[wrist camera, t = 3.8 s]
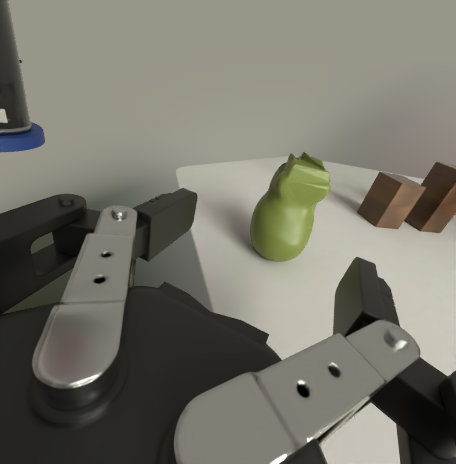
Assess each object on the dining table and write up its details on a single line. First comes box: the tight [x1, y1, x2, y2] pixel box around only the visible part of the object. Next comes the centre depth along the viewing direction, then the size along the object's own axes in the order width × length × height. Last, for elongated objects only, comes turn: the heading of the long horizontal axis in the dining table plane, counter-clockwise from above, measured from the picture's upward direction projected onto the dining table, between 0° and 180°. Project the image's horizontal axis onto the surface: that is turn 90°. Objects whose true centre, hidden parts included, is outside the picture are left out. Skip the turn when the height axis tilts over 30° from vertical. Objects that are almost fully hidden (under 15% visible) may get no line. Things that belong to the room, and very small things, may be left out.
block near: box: [358, 172, 426, 229], centre depth 38 cm, size 4×4×7 cm
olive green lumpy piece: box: [250, 152, 330, 261], centre depth 22 cm, size 6×5×10 cm
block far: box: [405, 162, 456, 233], centre depth 40 cm, size 4×4×10 cm
